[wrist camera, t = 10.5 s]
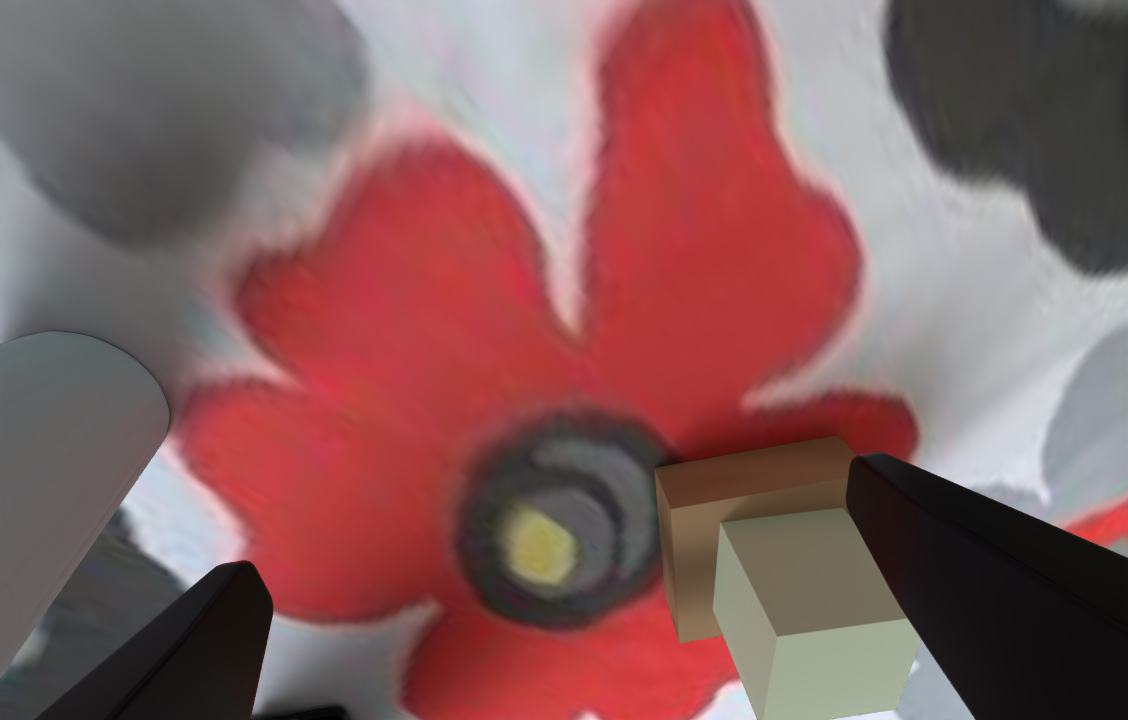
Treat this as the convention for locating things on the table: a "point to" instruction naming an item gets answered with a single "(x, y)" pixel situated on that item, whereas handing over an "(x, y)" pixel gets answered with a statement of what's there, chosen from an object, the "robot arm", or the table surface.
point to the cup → (64, 462)
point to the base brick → (735, 513)
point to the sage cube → (810, 617)
